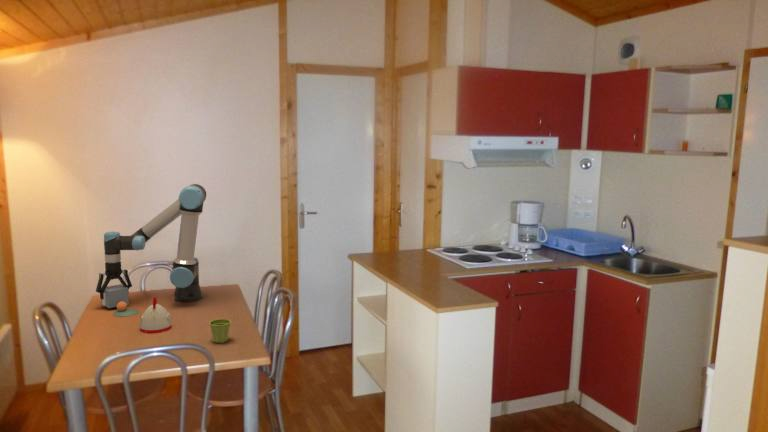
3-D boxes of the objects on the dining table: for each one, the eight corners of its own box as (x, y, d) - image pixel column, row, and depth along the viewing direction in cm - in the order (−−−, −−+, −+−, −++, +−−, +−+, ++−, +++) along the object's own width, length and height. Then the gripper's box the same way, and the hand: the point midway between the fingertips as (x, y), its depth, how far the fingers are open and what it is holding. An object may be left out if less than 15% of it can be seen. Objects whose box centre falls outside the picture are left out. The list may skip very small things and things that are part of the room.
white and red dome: (137, 334, 260) (136, 302, 258) (142, 325, 274) (140, 294, 272) (170, 332, 264) (169, 301, 262) (172, 323, 277) (171, 293, 275)
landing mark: (144, 310, 295) (144, 310, 295) (128, 317, 284) (128, 317, 284) (123, 308, 298) (123, 308, 298) (107, 315, 287) (107, 315, 287)
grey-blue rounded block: (128, 304, 301) (128, 288, 299) (108, 308, 293) (107, 291, 292) (120, 300, 308) (120, 284, 306) (101, 304, 300) (100, 287, 299)
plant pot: (205, 340, 255) (205, 321, 253) (224, 335, 261) (224, 317, 260) (215, 346, 248) (215, 326, 247) (235, 341, 254) (234, 322, 253)
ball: (127, 300, 297) (128, 310, 296) (117, 302, 296) (118, 311, 295) (125, 301, 292) (126, 310, 292) (114, 302, 291) (116, 312, 290)
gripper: (132, 257, 308) (133, 297, 311) (87, 263, 292) (89, 305, 295) (138, 259, 303) (139, 300, 306) (92, 265, 287) (94, 308, 290)
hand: (114, 302), depth 300 cm, fingers closed on grey-blue rounded block, 10 cm apart
